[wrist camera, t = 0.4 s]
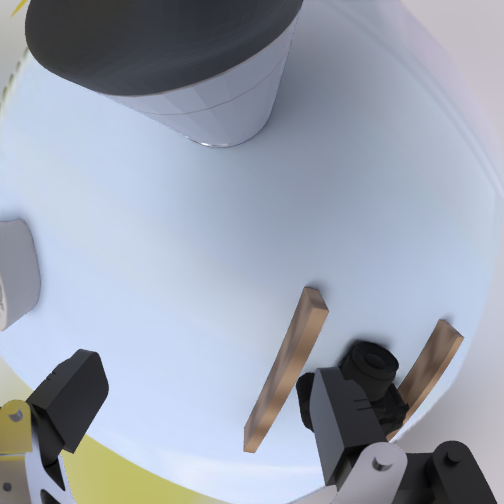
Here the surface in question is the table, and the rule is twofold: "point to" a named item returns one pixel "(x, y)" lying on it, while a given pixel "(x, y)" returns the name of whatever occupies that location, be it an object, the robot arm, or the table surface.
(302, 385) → the film camera
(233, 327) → the table surface
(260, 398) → the walnut chute
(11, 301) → the lumpy-topped squat cylinder
